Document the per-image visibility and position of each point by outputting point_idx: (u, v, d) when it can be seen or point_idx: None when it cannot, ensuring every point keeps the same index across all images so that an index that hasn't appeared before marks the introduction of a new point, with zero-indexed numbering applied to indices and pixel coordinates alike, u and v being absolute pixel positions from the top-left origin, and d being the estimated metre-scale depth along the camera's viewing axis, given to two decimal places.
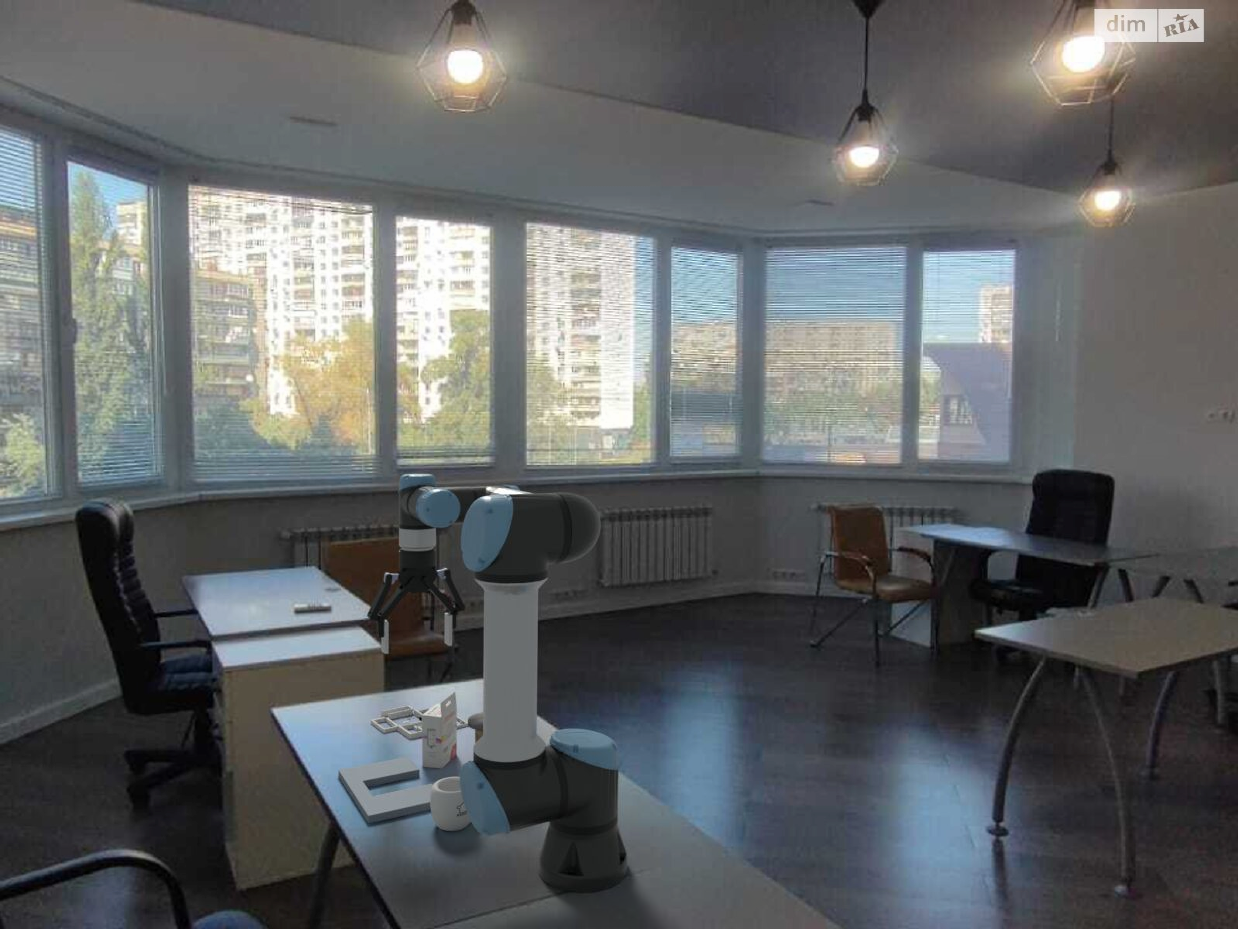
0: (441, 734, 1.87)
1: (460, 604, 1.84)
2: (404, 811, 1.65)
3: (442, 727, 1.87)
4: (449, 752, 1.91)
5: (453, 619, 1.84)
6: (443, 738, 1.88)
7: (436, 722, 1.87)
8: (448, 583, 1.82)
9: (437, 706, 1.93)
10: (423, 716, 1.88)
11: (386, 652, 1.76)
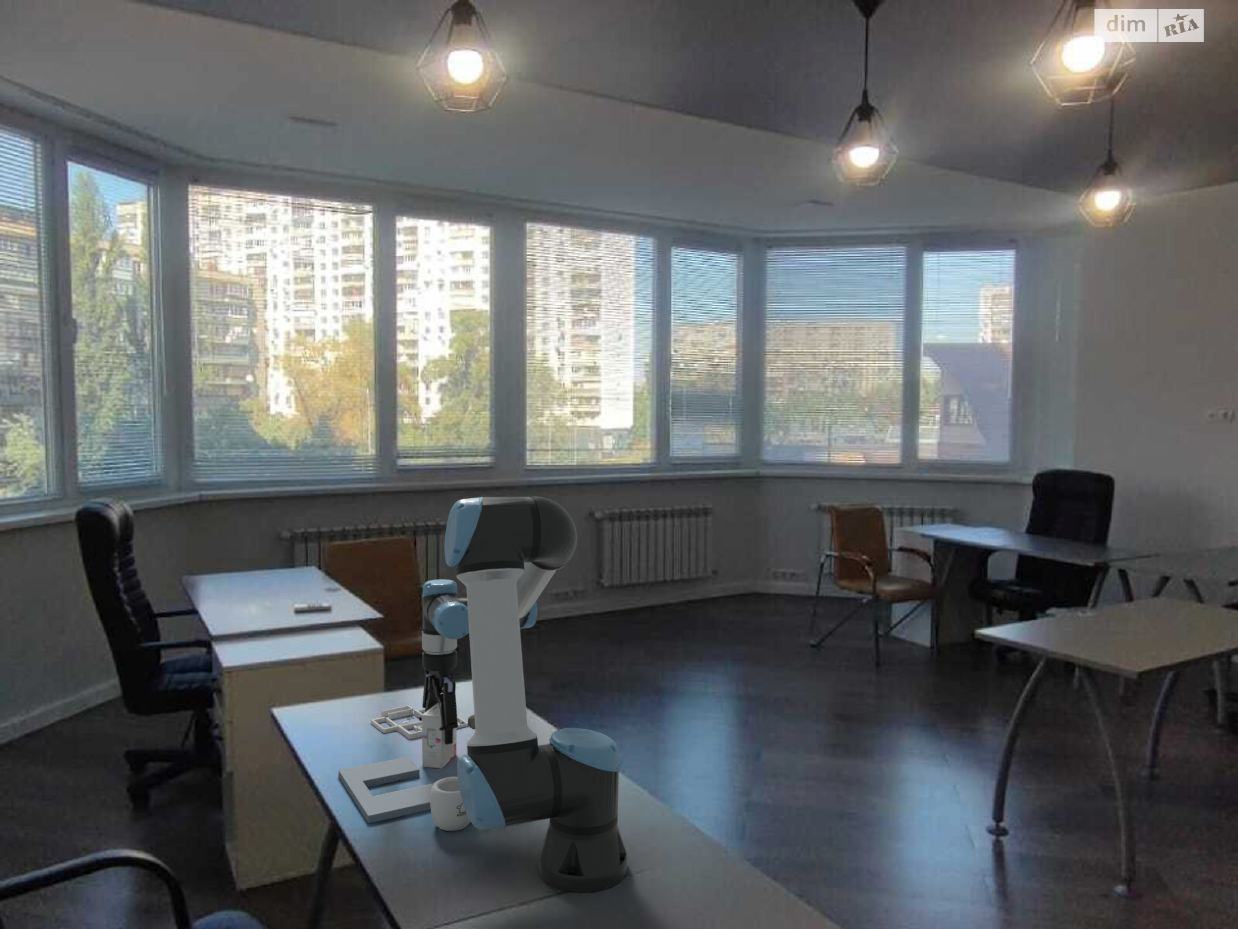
0: None
1: (445, 722, 1.84)
2: (404, 811, 1.65)
3: None
4: None
5: (445, 734, 1.86)
6: None
7: (436, 722, 1.87)
8: (443, 696, 1.85)
9: (437, 706, 1.93)
10: (423, 716, 1.88)
11: None
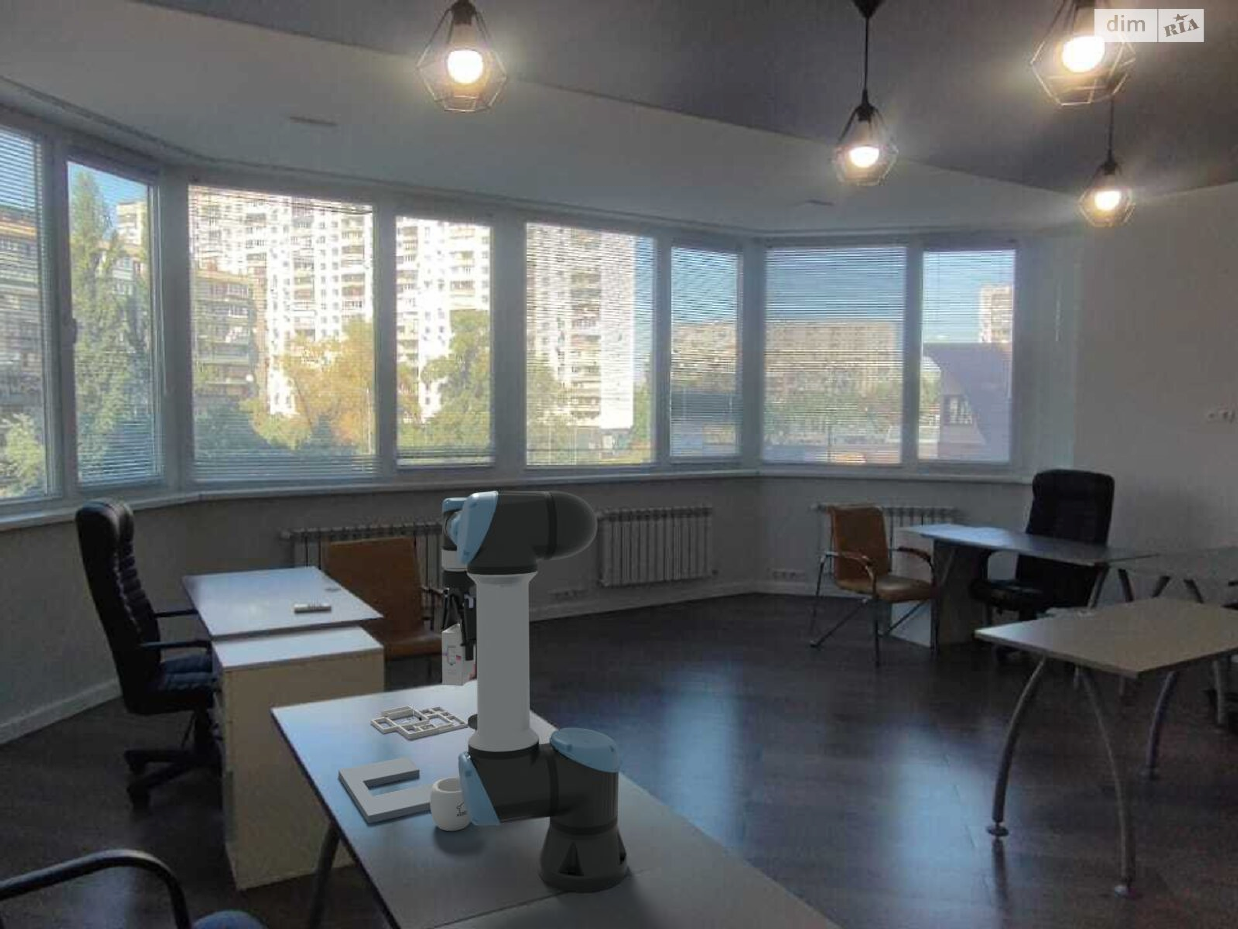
0: None
1: (466, 637, 1.83)
2: (404, 811, 1.65)
3: None
4: None
5: (466, 651, 1.85)
6: None
7: (457, 638, 1.86)
8: (464, 612, 1.84)
9: (456, 626, 1.92)
10: (443, 633, 1.86)
11: None
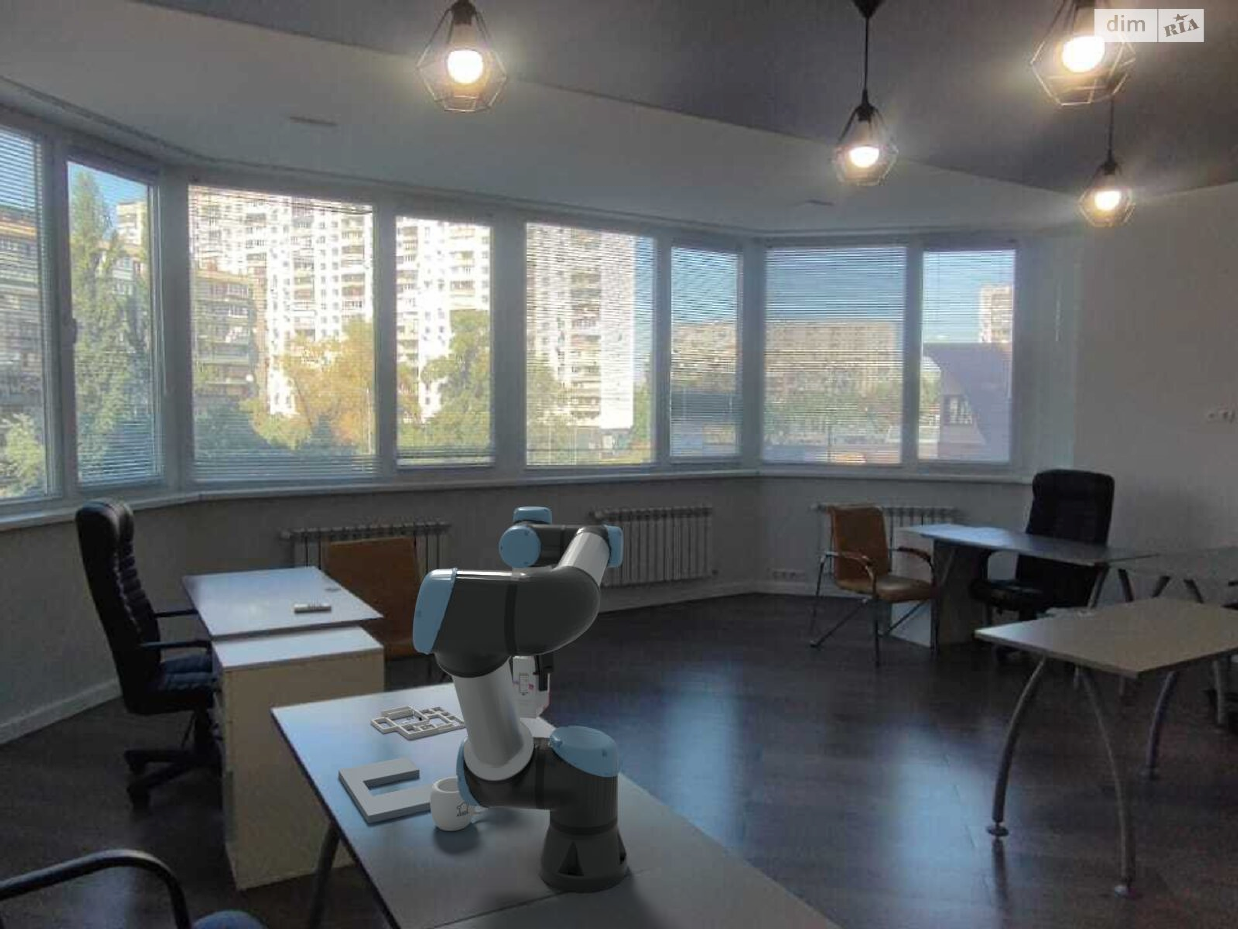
0: None
1: (540, 665, 1.62)
2: (404, 811, 1.65)
3: None
4: None
5: (539, 680, 1.64)
6: None
7: (530, 665, 1.65)
8: None
9: None
10: (514, 659, 1.66)
11: None
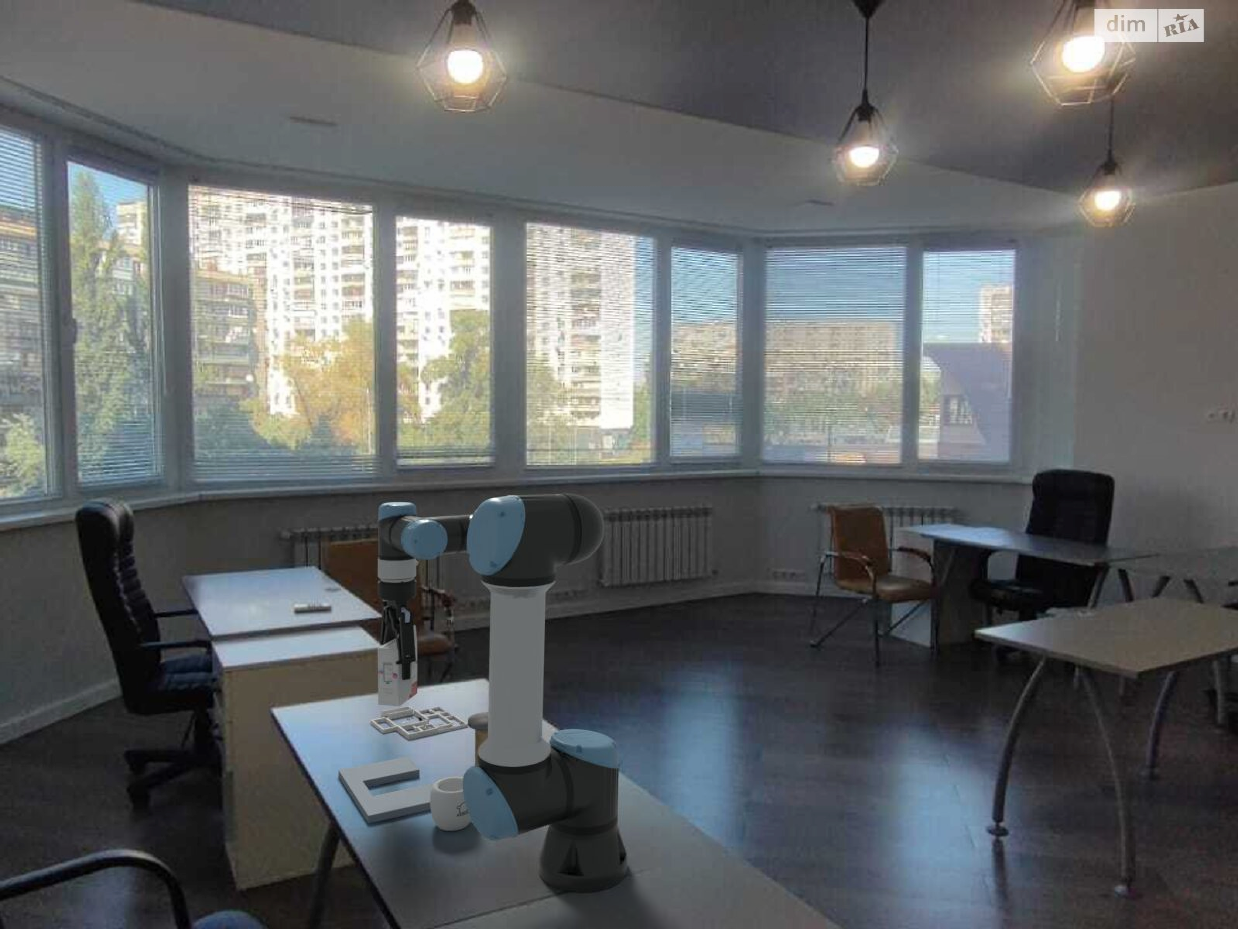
0: None
1: (402, 655, 1.68)
2: (404, 811, 1.65)
3: None
4: None
5: (402, 669, 1.70)
6: None
7: (393, 655, 1.71)
8: (400, 627, 1.69)
9: None
10: (379, 649, 1.72)
11: None
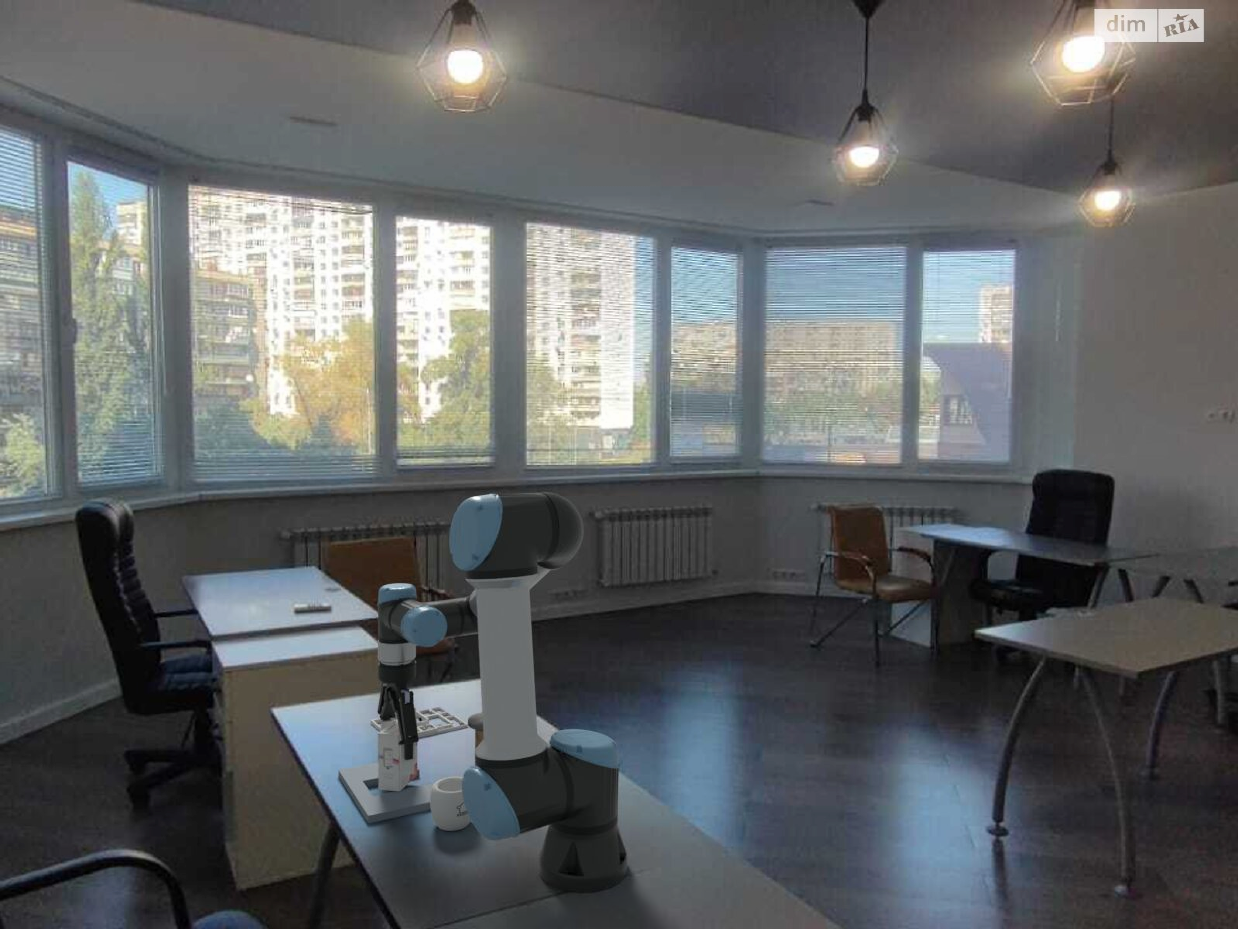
0: (399, 754, 1.72)
1: (404, 736, 1.68)
2: (404, 811, 1.65)
3: (399, 747, 1.72)
4: None
5: (405, 749, 1.69)
6: None
7: (393, 741, 1.72)
8: (400, 708, 1.70)
9: (396, 723, 1.78)
10: (379, 734, 1.72)
11: None
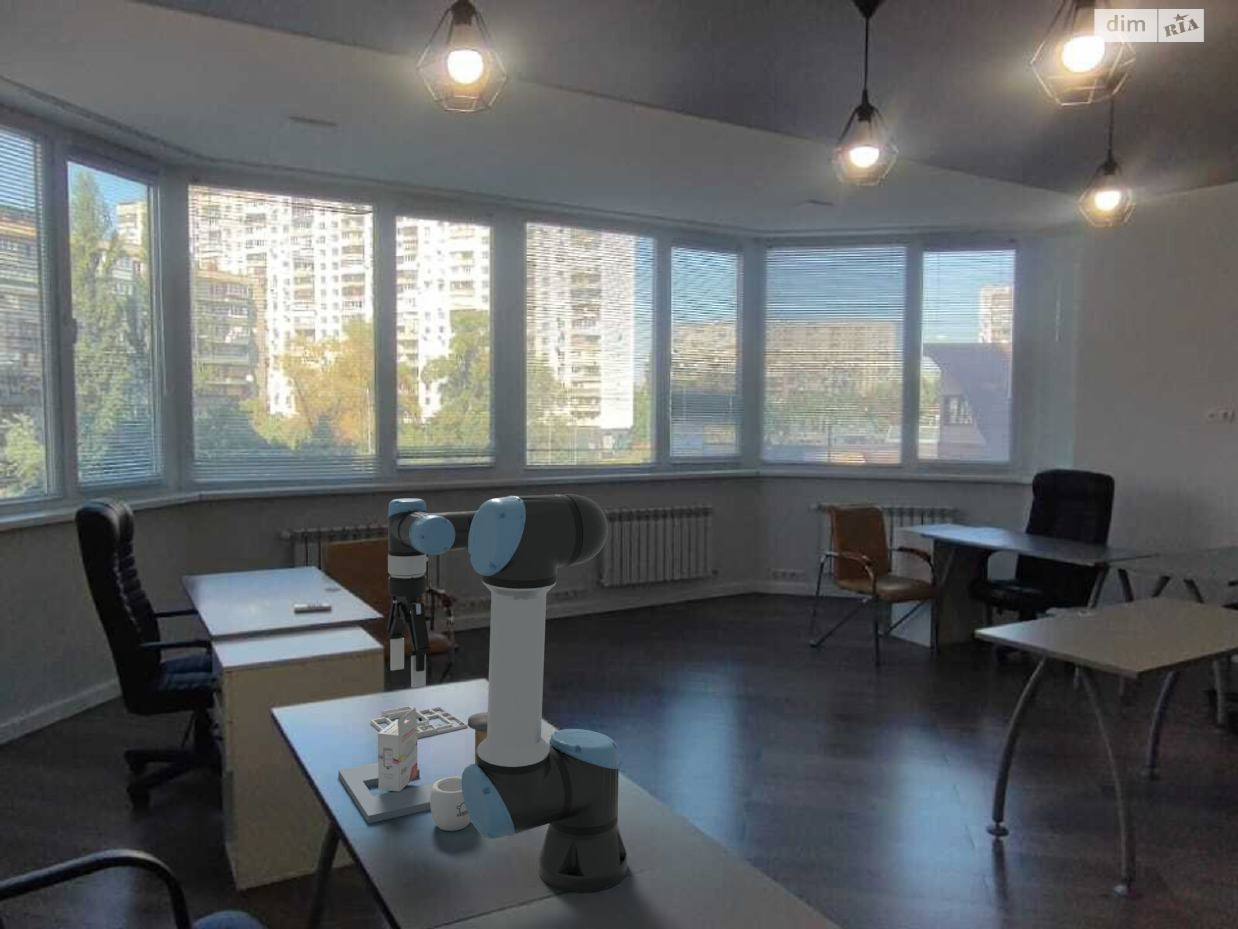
0: (399, 754, 1.72)
1: (416, 646, 1.67)
2: (404, 811, 1.65)
3: (399, 747, 1.72)
4: (408, 773, 1.76)
5: (416, 661, 1.69)
6: (401, 758, 1.73)
7: (393, 741, 1.72)
8: (411, 619, 1.69)
9: (396, 723, 1.78)
10: (379, 734, 1.72)
11: (390, 668, 1.81)
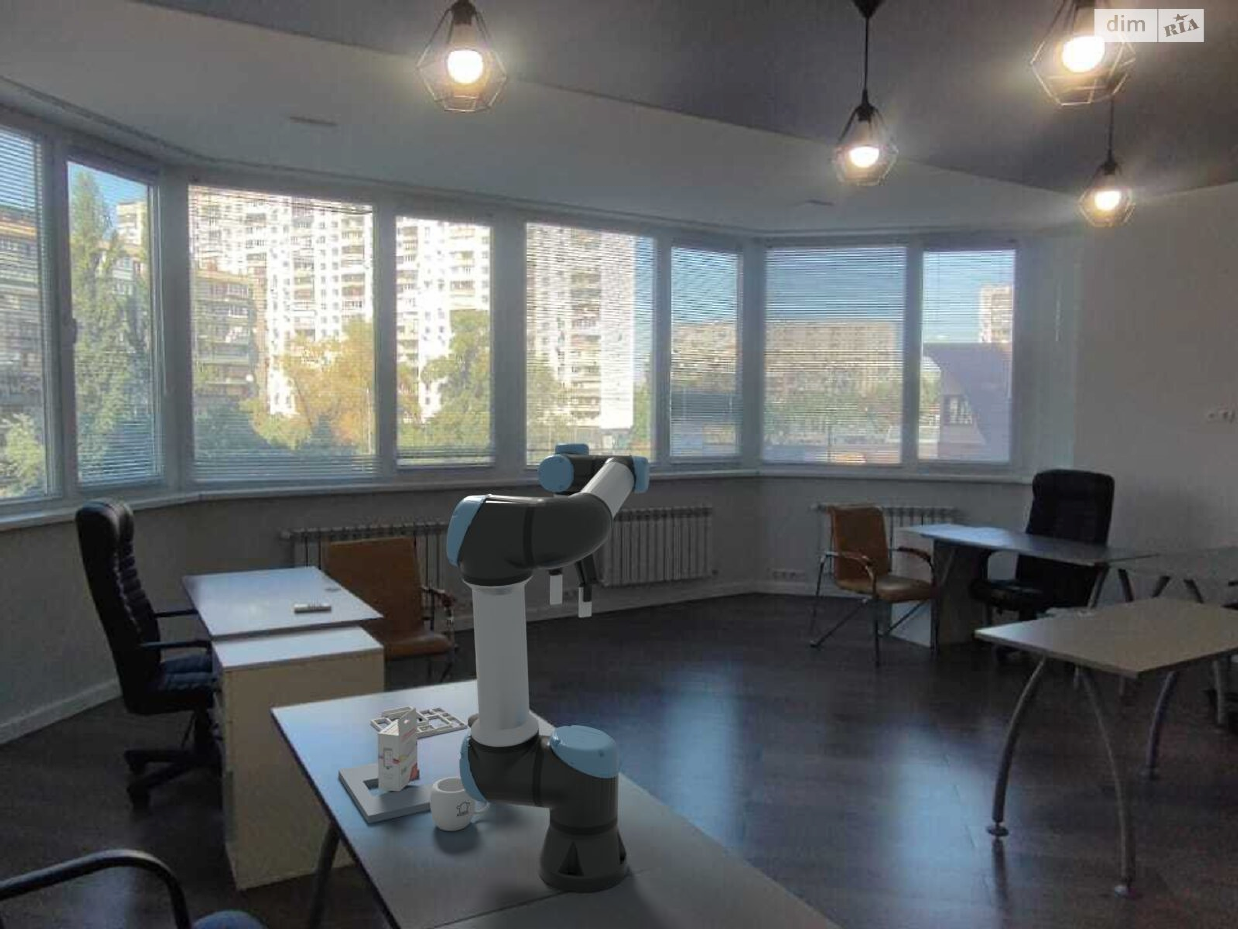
0: (399, 754, 1.72)
1: (585, 578, 1.80)
2: (404, 811, 1.65)
3: (399, 747, 1.72)
4: (408, 773, 1.76)
5: (584, 592, 1.81)
6: (401, 758, 1.73)
7: (393, 741, 1.72)
8: None
9: (396, 723, 1.78)
10: (379, 734, 1.72)
11: (550, 603, 1.94)
